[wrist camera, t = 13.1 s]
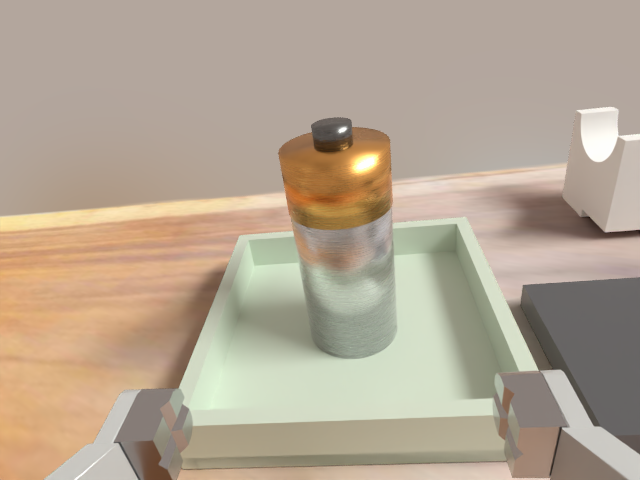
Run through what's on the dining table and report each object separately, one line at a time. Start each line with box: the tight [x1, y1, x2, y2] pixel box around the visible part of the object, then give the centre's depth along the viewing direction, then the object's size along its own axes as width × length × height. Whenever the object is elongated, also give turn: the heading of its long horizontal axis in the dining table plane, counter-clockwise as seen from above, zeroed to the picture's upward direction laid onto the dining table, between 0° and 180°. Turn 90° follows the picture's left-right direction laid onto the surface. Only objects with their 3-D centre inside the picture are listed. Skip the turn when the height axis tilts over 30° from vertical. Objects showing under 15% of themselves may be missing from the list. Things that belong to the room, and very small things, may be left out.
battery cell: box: [278, 118, 397, 359], centre depth 23 cm, size 5×5×12 cm
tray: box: [179, 217, 539, 469], centre depth 26 cm, size 16×16×3 cm
